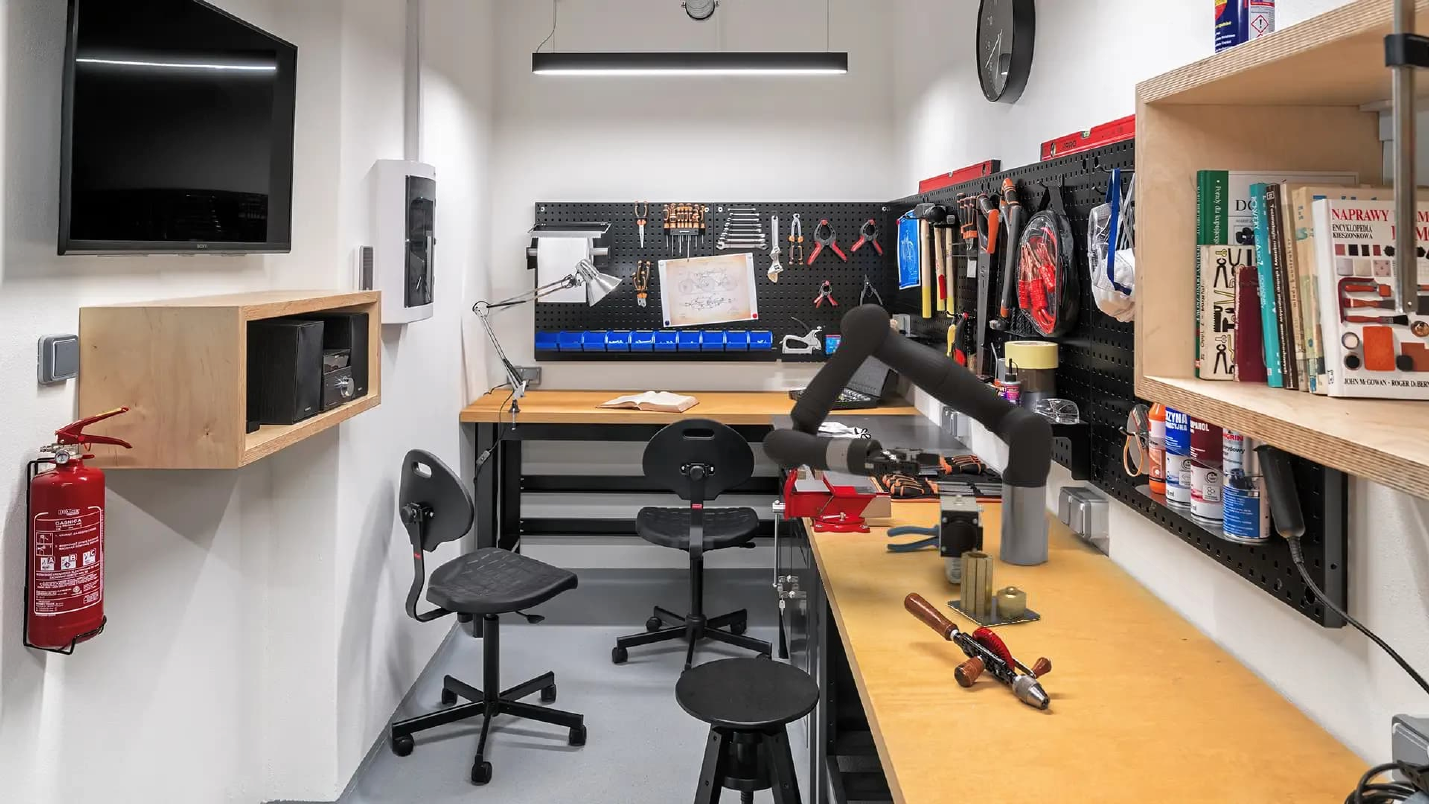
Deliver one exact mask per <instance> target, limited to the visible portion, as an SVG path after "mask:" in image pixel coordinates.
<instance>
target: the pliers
mask: <svg viewBox="0 0 1429 804" xmlns="http://www.w3.org/2000/svg"><path fill="white" fill-rule="evenodd" d="M939 526H940V524H936V523H935V525H934V526H933V527H931V528H930V527H921V526H914V525H912V526H911V525H903V526H902V525H901V526H896V527H893V528H889V529H887V531H886V535H887V537H888V538H892V537H894V538H895V537H896V536H903V535H921V536H930V537H929V538H925V539H922V540H917V541H913V542H909V543H900V544H899V543H898V544H897V543H895V544H894V543H888V544H887V546H886V549H888V550H889V551H891V552H896V553H897V552H898V553H899V552H902V553H903V552H904V553H905V552H913V551H916V550H919V549H923V548H927V547H931V546H934V547H935V548H937V549H940V542H939Z"/></svg>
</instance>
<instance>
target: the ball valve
mask: <svg viewBox="0 0 1429 804" xmlns="http://www.w3.org/2000/svg"><path fill="white" fill-rule="evenodd" d="M984 512H985V506H984V504H983V503H977V499H976V496H971V495H970V496H969V495H968V496H966V495H965V496H964V495H962V494H956V495H947V494H946V495H945V494H944V495H943V494H940V497H939V542H940V547H939V554H940V555H939V556H940V557H941V558H946V559H945V562H944V565H945V566H944V567H945V574H946V578H947V579H948V581H950V582H951V583H953V584H955V583H961V565H962V553H964V552H968V551H969V552H970V551H978V552H979V551H980V552H984V549H983V547H984V525H983V521H982V516H981V513H984Z"/></svg>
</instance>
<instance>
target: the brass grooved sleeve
mask: <svg viewBox="0 0 1429 804" xmlns="http://www.w3.org/2000/svg"><path fill="white" fill-rule="evenodd" d="M993 580H994V555H993V554H991V553H989V552H985V551H970V552H969V551H968V552H964V553H962V565H961V584H960V600H961V604H960V607H961V608H962V609H964V610H966V611H970V612H976V613H984V612H988V611H991V610H992V596H993V584H994V583H993V582H994V581H993Z"/></svg>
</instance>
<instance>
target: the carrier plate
mask: <svg viewBox="0 0 1429 804" xmlns="http://www.w3.org/2000/svg"><path fill="white" fill-rule="evenodd" d="M996 598H997V594H996V595H992V610H991V611H988V612H984V613H976V612H970V611H966V610H964V609H962V608H961V607H960V604H961V599H957V600H950V601H947V604H948V605H950V606H953V607H954V608H955V609H958V610H959V611H960V612H963V613H964V614H965V615H967V616H968V617H970V618H972V619H973V620H975V621H976V622H978V623H981V625H982V626H988V625H995V624H1001V623H1012V622H1017V621H1021V620H1033V619H1039V618H1040V619H1041V617H1042V616H1041V615H1040V614H1039V613H1037V612H1035V611H1034V610H1032V609H1029V608H1027V607H1026V617H1025V618H1023V619H1018V620H1012V619H1005V618H1002V617H999V616H998V615H997V614H996ZM982 626H981V627H982Z"/></svg>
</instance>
